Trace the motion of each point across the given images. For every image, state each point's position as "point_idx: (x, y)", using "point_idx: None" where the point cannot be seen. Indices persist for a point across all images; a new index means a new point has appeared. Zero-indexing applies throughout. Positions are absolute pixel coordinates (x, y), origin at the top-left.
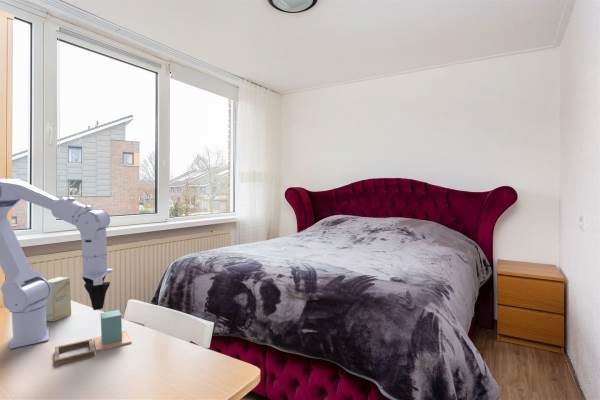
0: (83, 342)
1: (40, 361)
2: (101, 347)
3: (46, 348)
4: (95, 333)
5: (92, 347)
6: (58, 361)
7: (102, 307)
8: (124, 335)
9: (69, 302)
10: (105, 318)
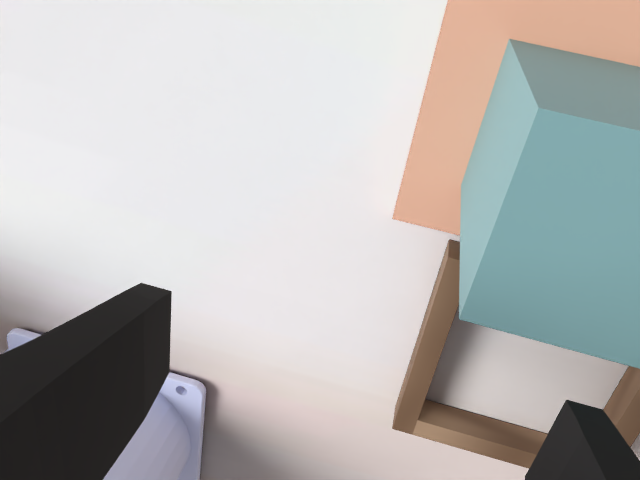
0: (454, 308)
1: (460, 474)
2: None
3: (306, 412)
4: (276, 163)
5: None
6: None
7: (616, 429)
8: (574, 11)
9: None
10: None
